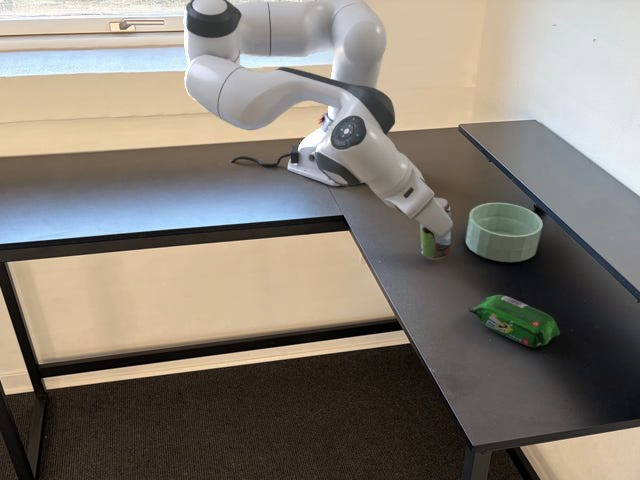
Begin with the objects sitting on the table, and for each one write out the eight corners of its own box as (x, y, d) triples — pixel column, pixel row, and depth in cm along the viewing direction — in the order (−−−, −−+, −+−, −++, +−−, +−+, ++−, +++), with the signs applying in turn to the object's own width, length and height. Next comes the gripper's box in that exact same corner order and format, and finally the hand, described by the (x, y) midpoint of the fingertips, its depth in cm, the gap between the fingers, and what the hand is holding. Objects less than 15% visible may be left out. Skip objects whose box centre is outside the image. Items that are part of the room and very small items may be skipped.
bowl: (456, 253, 153) (460, 225, 149) (476, 223, 164) (481, 196, 160) (527, 271, 149) (533, 243, 145) (542, 239, 160) (549, 212, 156)
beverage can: (447, 265, 147) (456, 212, 140) (411, 259, 148) (418, 205, 141) (451, 250, 152) (460, 198, 144) (416, 244, 153) (424, 191, 145)
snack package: (484, 307, 138) (488, 283, 135) (560, 340, 131) (566, 316, 127) (464, 323, 133) (468, 300, 130) (542, 358, 126) (548, 334, 123)
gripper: (364, 173, 145) (403, 211, 155) (410, 219, 131) (450, 257, 140) (386, 149, 144) (424, 188, 153) (435, 193, 130) (474, 233, 139)
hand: (437, 222), depth 147 cm, fingers closed on beverage can, 5 cm apart
